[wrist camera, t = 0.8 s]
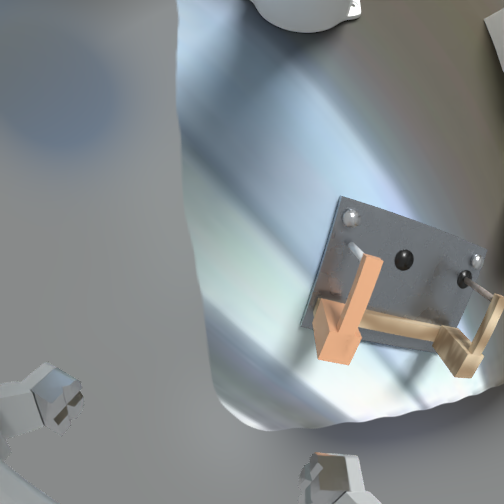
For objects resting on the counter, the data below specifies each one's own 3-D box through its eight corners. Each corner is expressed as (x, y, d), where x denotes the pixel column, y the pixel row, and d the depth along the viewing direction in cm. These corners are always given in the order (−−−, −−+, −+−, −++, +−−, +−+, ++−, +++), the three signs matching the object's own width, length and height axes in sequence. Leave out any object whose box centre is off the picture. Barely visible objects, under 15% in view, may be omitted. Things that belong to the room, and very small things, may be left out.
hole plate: (340, 195, 38) (343, 196, 36) (483, 248, 37) (490, 251, 35) (300, 322, 44) (301, 329, 42) (440, 350, 43) (445, 356, 40)
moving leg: (339, 234, 38) (357, 253, 28) (366, 242, 38) (391, 263, 28) (311, 319, 41) (317, 359, 31) (336, 325, 41) (348, 365, 31)
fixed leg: (338, 233, 39) (357, 253, 28) (474, 276, 37) (510, 300, 27) (311, 316, 42) (317, 357, 32) (444, 343, 41) (471, 378, 30)
